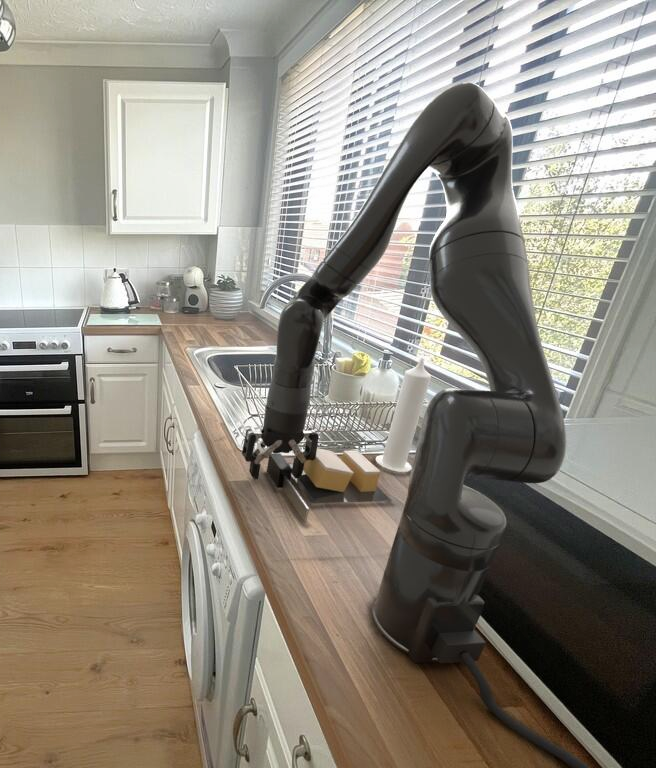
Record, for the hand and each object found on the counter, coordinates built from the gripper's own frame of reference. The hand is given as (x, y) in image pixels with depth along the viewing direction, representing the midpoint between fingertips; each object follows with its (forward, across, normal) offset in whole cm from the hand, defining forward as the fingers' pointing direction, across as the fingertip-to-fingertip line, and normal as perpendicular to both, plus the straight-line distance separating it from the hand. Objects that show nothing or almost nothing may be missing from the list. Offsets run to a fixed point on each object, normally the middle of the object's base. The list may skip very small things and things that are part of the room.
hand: (274, 476), depth 84 cm
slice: (0, -17, +1) cm, 17 cm away
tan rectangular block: (0, -9, +1) cm, 9 cm away
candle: (+1, -29, -5) cm, 29 cm away
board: (+1, -12, +1) cm, 12 cm away
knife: (+1, -1, +5) cm, 5 cm away
